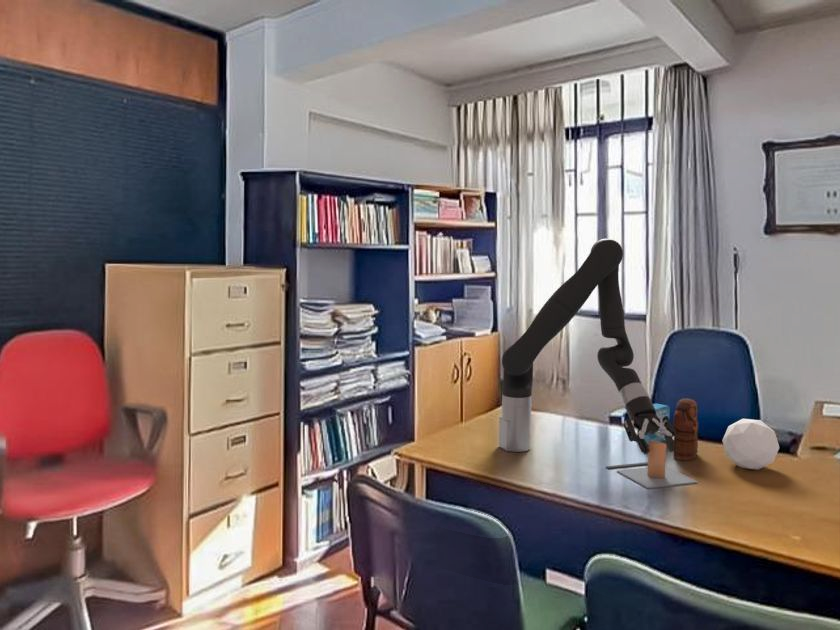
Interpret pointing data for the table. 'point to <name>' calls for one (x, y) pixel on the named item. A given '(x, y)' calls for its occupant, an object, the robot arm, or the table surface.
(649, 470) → the throwing cylinder
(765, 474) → the table surface
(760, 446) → the geometric sphere
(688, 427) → the wooden figurine
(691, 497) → the table surface
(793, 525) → the table surface
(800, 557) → the table surface
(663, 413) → the data package
